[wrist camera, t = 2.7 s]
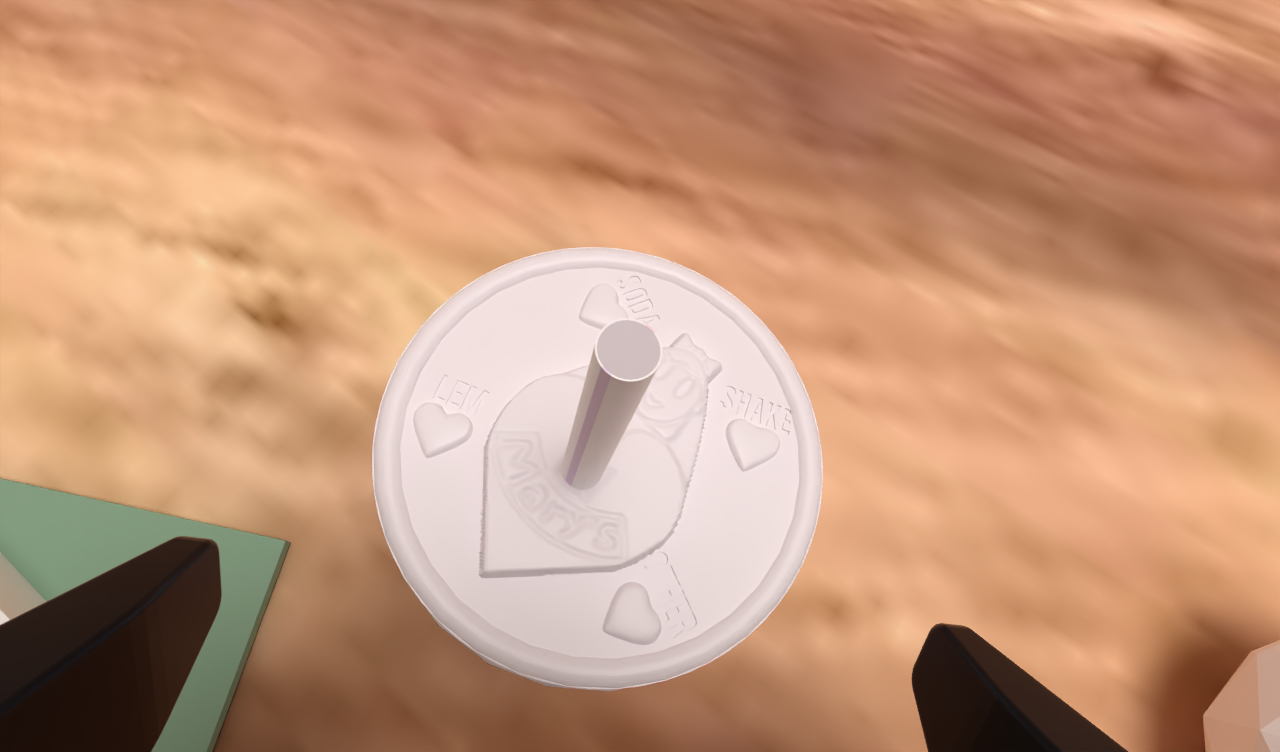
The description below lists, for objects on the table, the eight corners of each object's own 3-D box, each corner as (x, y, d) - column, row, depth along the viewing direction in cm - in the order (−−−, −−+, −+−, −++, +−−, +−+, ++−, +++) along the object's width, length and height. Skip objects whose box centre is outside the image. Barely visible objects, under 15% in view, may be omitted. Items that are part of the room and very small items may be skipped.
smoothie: (381, 545, 18) (67, 289, 5) (561, 377, 21) (645, -86, 8) (566, 733, 17) (721, 965, 5) (731, 535, 20) (1145, 319, 7)
